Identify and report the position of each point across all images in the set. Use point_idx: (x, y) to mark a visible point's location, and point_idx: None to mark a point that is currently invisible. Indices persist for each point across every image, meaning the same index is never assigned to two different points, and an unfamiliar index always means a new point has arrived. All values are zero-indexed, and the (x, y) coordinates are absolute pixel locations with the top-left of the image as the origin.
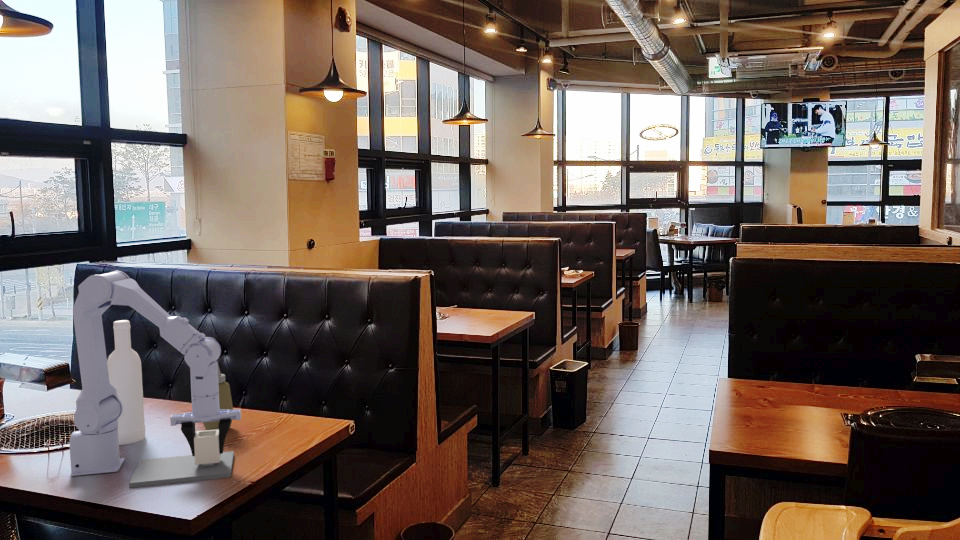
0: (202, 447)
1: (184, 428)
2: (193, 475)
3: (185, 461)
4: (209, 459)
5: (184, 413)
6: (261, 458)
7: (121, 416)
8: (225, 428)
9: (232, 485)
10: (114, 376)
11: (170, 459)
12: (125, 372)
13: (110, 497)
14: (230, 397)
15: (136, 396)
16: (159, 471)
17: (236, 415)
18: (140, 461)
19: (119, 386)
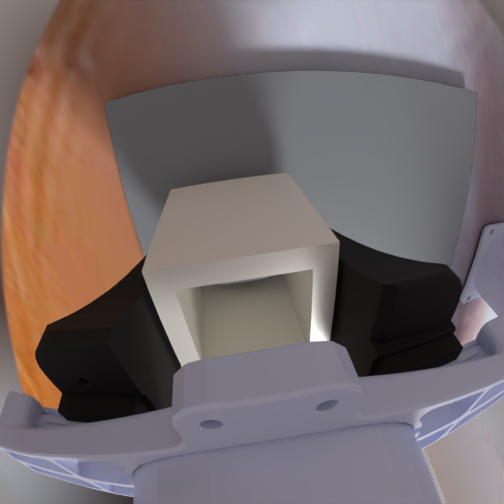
0: (261, 213)
1: (445, 290)
2: (275, 85)
3: None
4: (217, 187)
5: (443, 435)
6: (71, 287)
7: None
8: (72, 321)
9: (89, 21)
10: (500, 471)
11: None
12: (488, 488)
13: (486, 41)
14: None
15: (451, 455)
16: (413, 171)
17: (15, 425)
18: None
19: (488, 458)
